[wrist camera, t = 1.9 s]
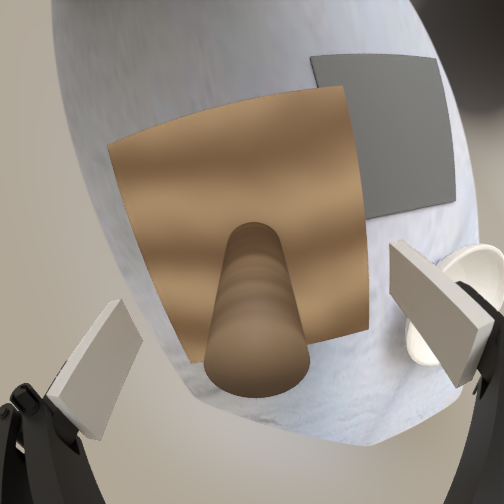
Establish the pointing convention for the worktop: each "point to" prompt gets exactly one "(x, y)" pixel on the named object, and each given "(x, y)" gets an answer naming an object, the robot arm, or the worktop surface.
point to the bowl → (472, 273)
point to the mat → (395, 128)
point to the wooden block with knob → (252, 232)
